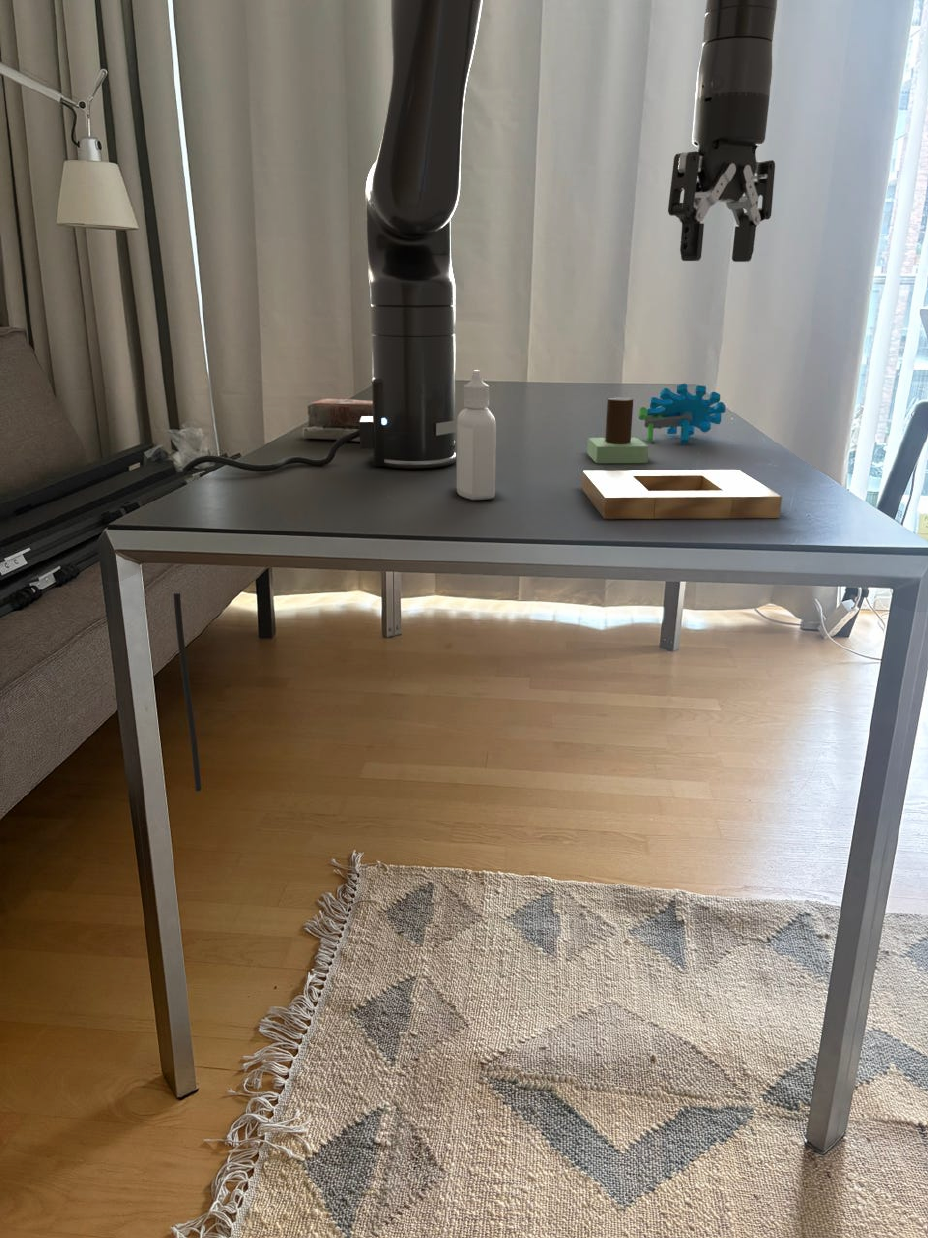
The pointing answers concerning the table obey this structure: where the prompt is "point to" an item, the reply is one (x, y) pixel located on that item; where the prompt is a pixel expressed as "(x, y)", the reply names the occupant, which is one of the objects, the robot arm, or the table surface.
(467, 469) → the eye dropper bottle
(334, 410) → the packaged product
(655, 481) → the wooden board
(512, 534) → the table surface
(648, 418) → the gear
